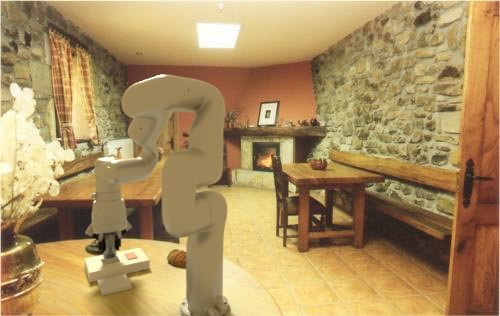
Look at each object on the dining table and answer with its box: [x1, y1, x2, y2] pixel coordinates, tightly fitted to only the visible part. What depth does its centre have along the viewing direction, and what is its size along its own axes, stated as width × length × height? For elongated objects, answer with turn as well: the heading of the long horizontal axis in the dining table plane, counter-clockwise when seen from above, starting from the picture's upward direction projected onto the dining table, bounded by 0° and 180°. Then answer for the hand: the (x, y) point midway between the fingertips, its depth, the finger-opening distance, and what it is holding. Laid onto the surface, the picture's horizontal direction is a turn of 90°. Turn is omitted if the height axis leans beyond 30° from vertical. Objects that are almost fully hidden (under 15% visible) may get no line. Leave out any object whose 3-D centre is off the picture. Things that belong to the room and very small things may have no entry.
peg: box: [102, 231, 117, 259], centre depth 104 cm, size 4×4×8 cm
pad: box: [97, 274, 133, 297], centre depth 94 cm, size 8×8×1 cm
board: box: [84, 247, 150, 283], centre depth 106 cm, size 12×18×3 cm, turn 123°
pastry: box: [166, 248, 186, 268], centre depth 111 cm, size 9×7×4 cm
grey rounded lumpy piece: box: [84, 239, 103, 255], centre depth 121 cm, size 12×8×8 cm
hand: (109, 250), depth 104 cm, fingers closed on peg, 4 cm apart
